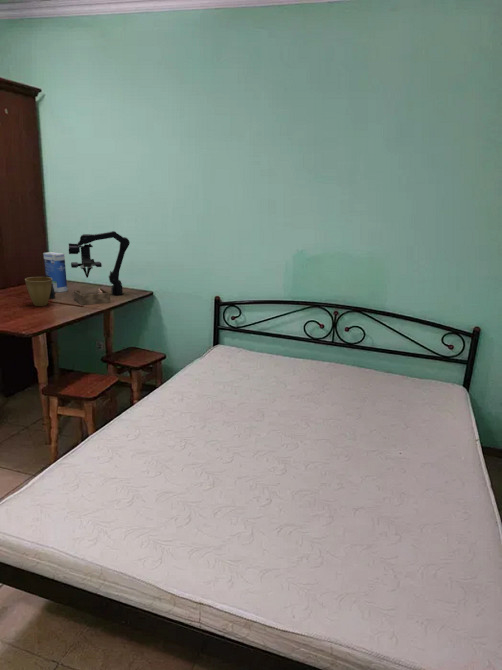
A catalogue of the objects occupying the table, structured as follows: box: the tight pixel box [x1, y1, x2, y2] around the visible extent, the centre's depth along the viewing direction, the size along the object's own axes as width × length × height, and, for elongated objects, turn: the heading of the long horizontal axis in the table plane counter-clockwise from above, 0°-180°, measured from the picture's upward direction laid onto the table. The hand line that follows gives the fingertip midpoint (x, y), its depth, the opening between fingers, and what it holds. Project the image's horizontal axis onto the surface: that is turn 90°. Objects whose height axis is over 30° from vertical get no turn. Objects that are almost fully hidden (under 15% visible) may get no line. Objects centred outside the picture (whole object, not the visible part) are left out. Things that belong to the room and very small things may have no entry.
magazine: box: [43, 274, 57, 300], centre depth 300 cm, size 4×13×15 cm, turn 92°
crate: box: [73, 287, 111, 306], centre depth 298 cm, size 18×16×6 cm
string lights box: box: [42, 251, 68, 293], centre depth 319 cm, size 13×8×26 cm, turn 58°
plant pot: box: [24, 276, 52, 307], centre depth 282 cm, size 15×15×16 cm
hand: (87, 277), depth 310 cm, fingers closed
